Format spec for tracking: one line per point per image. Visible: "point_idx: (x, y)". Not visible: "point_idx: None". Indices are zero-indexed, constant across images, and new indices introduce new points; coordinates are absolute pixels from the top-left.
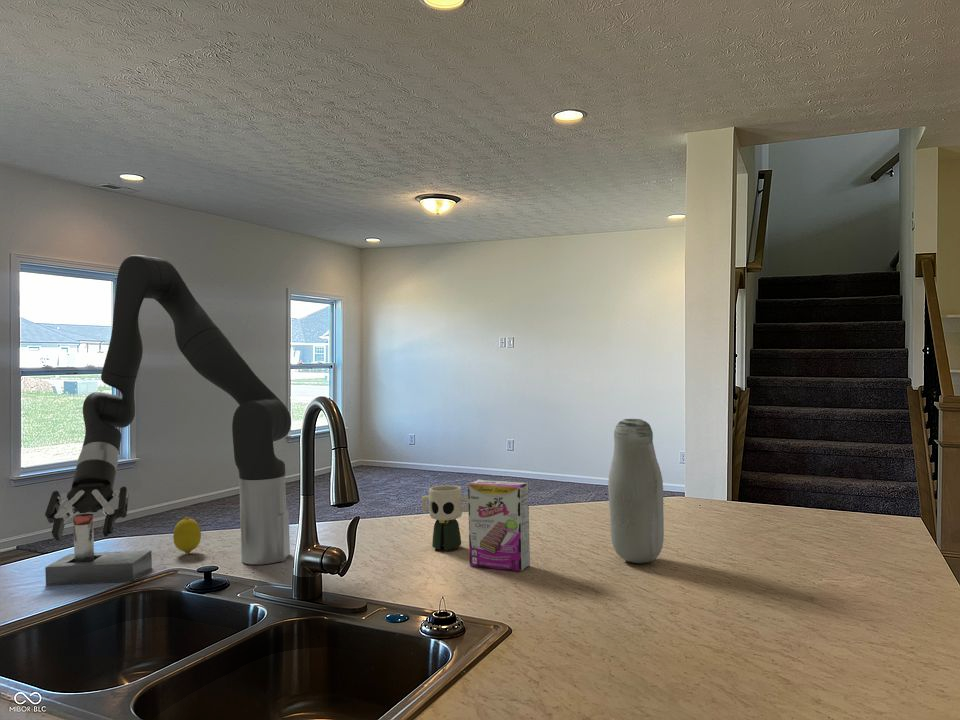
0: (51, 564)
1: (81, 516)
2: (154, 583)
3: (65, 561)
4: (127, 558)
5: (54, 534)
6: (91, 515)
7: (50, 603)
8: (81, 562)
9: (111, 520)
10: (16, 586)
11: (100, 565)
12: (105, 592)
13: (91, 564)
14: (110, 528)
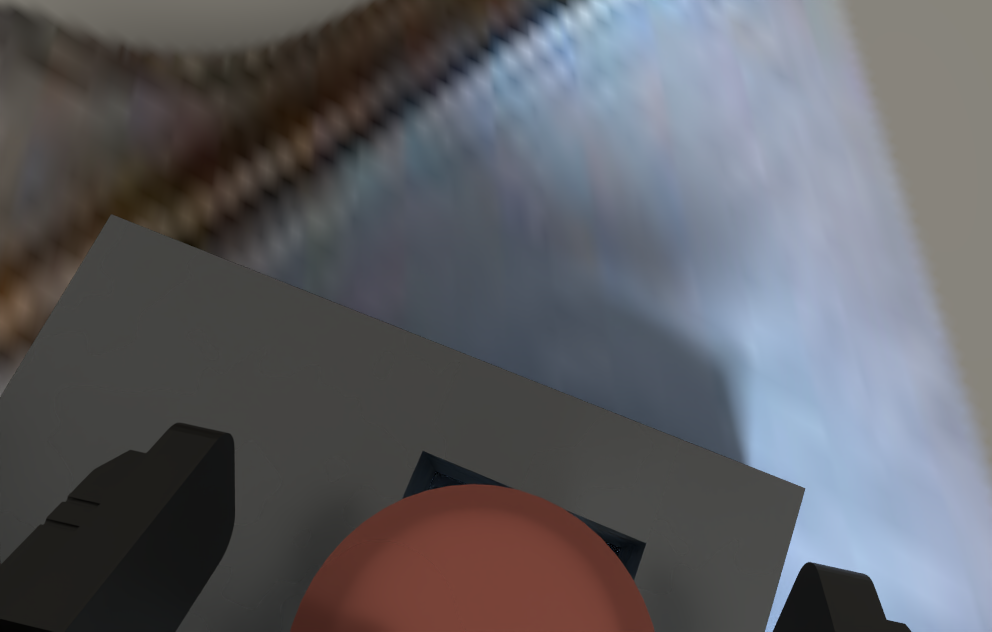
0: (769, 566)
1: (500, 593)
2: (59, 159)
3: (655, 616)
4: (123, 401)
5: (864, 579)
6: (314, 586)
7: (648, 71)
8: (506, 482)
9: (28, 570)
10: (978, 617)
11: (351, 313)
12: (353, 124)
13: (420, 354)
14: (117, 460)
